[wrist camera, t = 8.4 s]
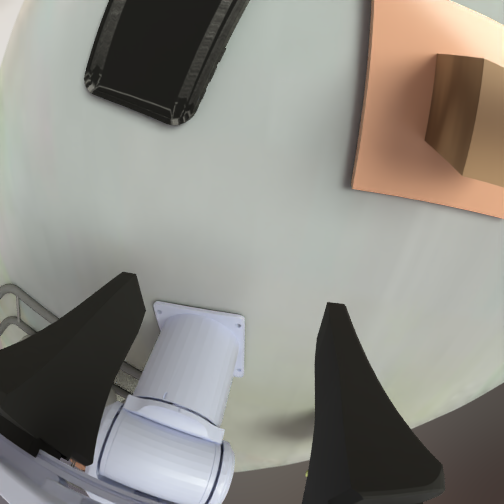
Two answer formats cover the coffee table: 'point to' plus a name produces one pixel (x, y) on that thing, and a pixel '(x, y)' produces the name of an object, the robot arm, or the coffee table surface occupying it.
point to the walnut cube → (468, 116)
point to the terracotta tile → (418, 102)
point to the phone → (160, 53)
